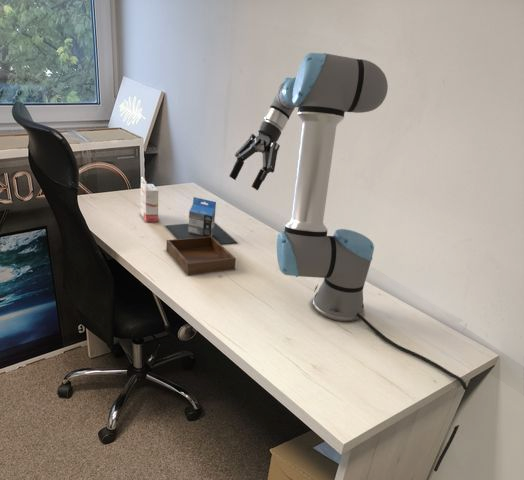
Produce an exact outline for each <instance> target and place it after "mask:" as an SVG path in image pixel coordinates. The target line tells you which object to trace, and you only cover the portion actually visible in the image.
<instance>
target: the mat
mask: <svg viewBox="0 0 524 480" xmlns="http://www.w3.org/2000/svg"><path fill="white" fill-rule="evenodd" d="M188 226H189V223H182V224H168V225H165V228H167V230H168V231H169V232H170V233H171V234H172V235H173V236H174V237H175V239H184V238H196V237H206V236H201V235H197V234H192V233H188ZM212 237H213V238H214V239H215V240H216V241H218V242H219V243H220V244H221V245H222V246H223V245H231V244H233V245H234V244H237V243H238V242H237V241H236V240H235V239H234V238H233V237H232V236H230V235H229V234H228V233H227V232H226V231H225V230H224V229H222V228H221V227H220V226H219V225H218V224H217V223H216V222H214V234H213V236H212Z"/></svg>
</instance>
